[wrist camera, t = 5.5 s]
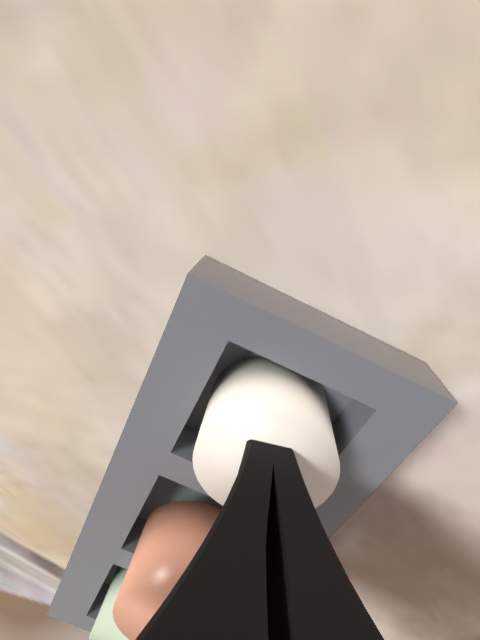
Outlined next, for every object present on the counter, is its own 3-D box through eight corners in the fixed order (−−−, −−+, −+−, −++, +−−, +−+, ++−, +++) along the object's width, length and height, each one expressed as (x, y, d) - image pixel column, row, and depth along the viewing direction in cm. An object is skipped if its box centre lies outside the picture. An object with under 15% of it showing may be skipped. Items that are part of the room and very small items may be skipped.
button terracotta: (266, 528, 13) (263, 619, 10) (222, 583, 15) (209, 674, 12) (165, 485, 13) (134, 569, 10) (131, 546, 15) (98, 632, 12)
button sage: (210, 571, 17) (197, 646, 14) (180, 610, 19) (164, 684, 16) (131, 539, 17) (103, 609, 14) (108, 582, 19) (79, 652, 16)
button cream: (349, 386, 12) (370, 449, 9) (290, 465, 14) (294, 536, 11) (240, 335, 12) (228, 384, 9) (194, 422, 13) (172, 485, 11)
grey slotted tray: (426, 362, 12) (457, 402, 10) (208, 620, 21) (199, 672, 18) (205, 254, 12) (188, 273, 9) (72, 566, 20) (46, 615, 18)
